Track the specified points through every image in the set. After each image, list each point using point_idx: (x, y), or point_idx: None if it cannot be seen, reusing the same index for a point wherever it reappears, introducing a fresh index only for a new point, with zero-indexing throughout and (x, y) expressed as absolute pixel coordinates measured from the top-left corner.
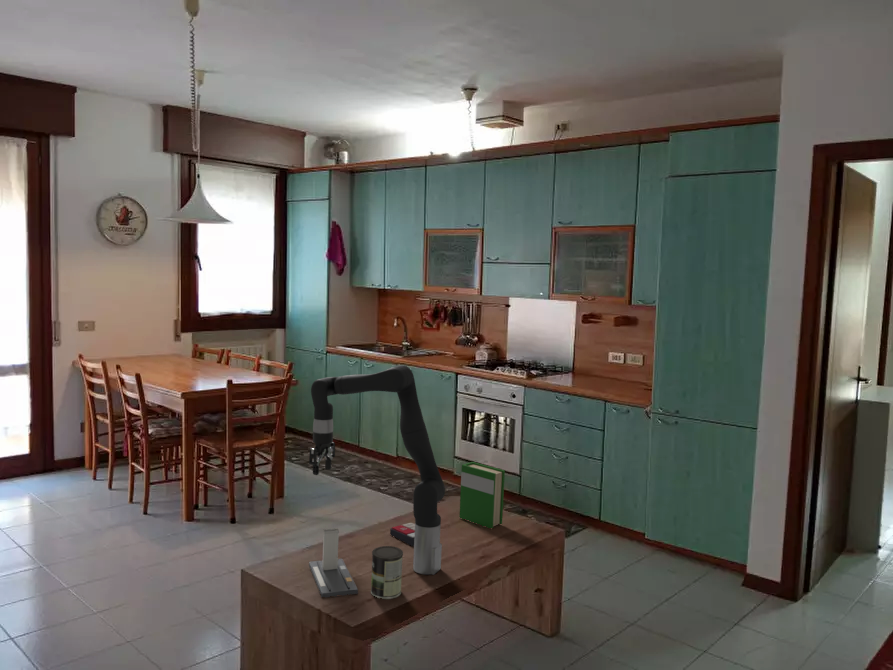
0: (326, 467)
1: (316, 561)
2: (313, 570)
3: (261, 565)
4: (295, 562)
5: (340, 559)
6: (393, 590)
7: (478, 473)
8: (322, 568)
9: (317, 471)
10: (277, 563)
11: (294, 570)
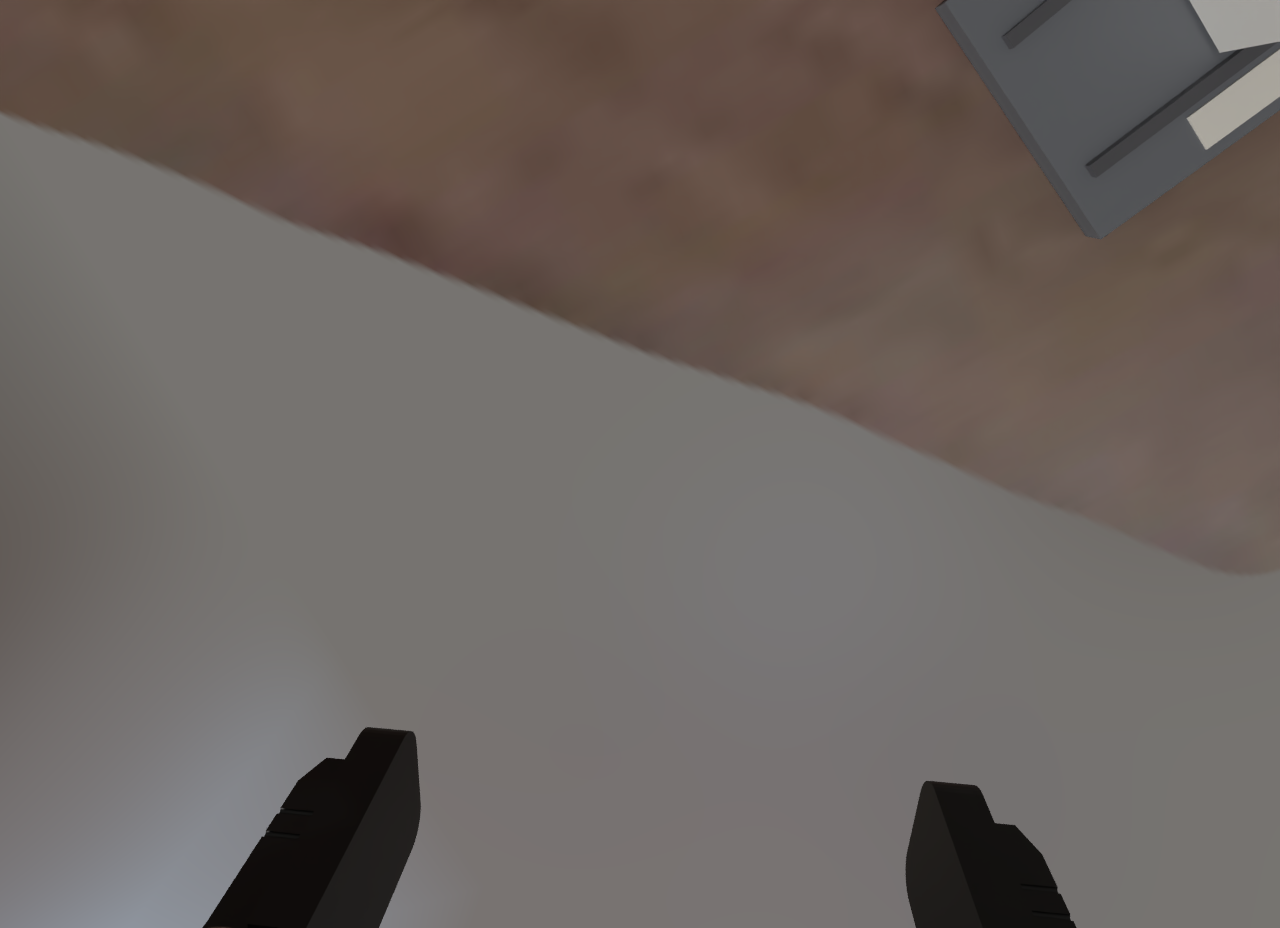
0: (403, 836)
1: (1077, 185)
2: (1274, 106)
3: (1174, 543)
4: (1053, 363)
5: (972, 4)
6: None
7: None
8: (1212, 54)
9: (1004, 856)
10: (1109, 467)
11: (1202, 292)
